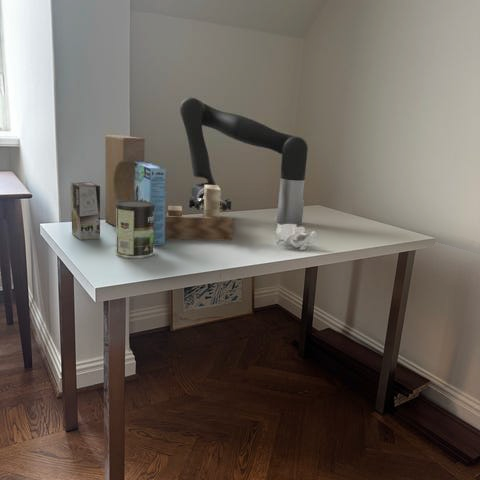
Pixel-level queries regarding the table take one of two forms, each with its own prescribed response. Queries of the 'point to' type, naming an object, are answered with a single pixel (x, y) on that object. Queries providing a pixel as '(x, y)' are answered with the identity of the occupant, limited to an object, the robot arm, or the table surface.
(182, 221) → the brown wooden block
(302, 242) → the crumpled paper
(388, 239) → the table surface
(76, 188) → the coffee box
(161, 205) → the light blue carton
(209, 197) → the light wooden block
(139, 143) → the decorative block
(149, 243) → the coffee can
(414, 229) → the table surface
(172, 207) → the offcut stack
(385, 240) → the table surface
